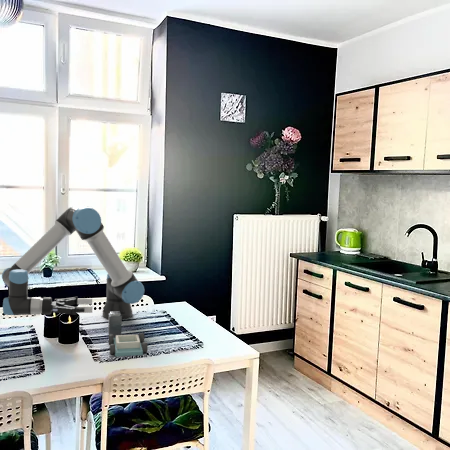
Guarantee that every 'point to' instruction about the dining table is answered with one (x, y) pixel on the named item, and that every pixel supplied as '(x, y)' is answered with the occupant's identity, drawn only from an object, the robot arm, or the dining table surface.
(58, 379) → the dining table surface
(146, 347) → the chassis
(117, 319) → the grey upright block
